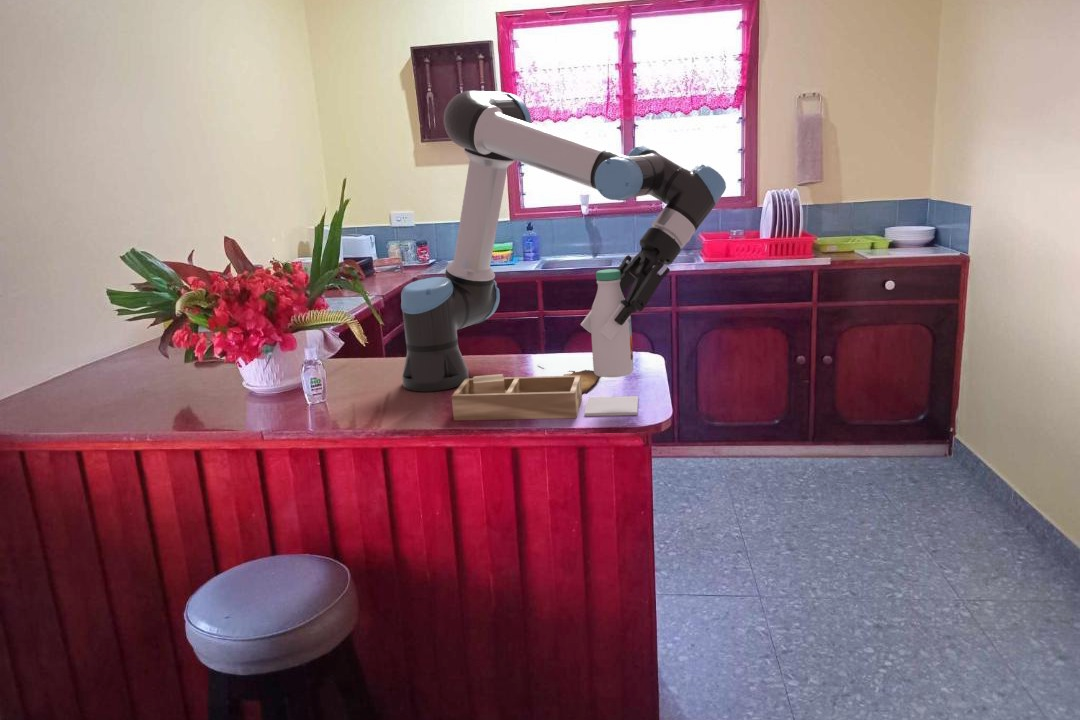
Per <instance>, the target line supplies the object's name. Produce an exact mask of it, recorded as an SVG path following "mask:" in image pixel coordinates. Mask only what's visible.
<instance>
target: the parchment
mask: <svg viewBox="0 0 1080 720" xmlns="http://www.w3.org/2000/svg"><path fill="white" fill-rule="evenodd" d="M568 372H570V373H568ZM577 375H581V391H582V396H583V395H585V394H587V393H588V391H589V390H590V389H591V388H592V387H593V386H594V385H595V384H596V383H598V379H599V378H600V376H597V375H596V374H595V373H594V370H592V369H591V370H590V369H584V370H581V371H576V370H568V371H567V373H565V374H563V375H562V376H577Z"/></svg>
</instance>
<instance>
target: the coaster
mask: <svg viewBox="0 0 1080 720" xmlns="http://www.w3.org/2000/svg"><path fill="white" fill-rule="evenodd" d="M638 408H639V395H632V396H631V395H630V396H626V395H625V396H594V397H593V396H592V397H591V396H589V397H588V398H587V402H586V406H585V410H584V417H601V416H603V417H606V416H610V417H611V416H612V417H613V416H638Z"/></svg>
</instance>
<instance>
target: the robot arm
mask: <svg viewBox="0 0 1080 720" xmlns="http://www.w3.org/2000/svg"><path fill="white" fill-rule="evenodd" d="M443 126H444V129H445V132H446V134H447V136H448V138H449V139H450V140H451V141H452V142H453V143H454V144H455V145H457V146H459V147H460V148H464V149H463V151H464V153H465V154H466V156H467V157H468V158H469V160H468V161H469V163H468V166H467V167H468V168H467V175H466V180H465V181H466V182H465V187H464V193H463V199H462V205H461V212H460V217H459V226H458V232H457V238H456V245H455V250H454V251H455V252H454V257H453V261H451V262H450V263H448V264H447V265H446V268H445V273H444V276H434V277H433V276H432V277H426V278H424V279H417V280H415V281H412V282H410V283H408V284H407V285H405V286H404V287H403V288H402V290H401V292H400V299H401V303H400V309H401V314H402V321H403V329H404V337H405V344H406V345H405V346H406V358H405V362H404V365H403V369H402V370H403V371H402V377H401V378H402V379H401V380H402V385H403V386H402V387H403V388H404V389H406V390H409V391H414V392H437V391H446V390H449V389H453V388H454V389H455V388H459V386H460V385H461V384H462V383H463V381H464V380H465V379H470V376H469V375H470V374H469V368H468V366H467V365H466V364H467V363H466V362H465V359H464V358H463V355H462V352H461V351H460V348H459V342H458V340H459V339H458V330H462V329H463V328H466V327H469V326H472V325H474V326H475V325H477V324H480V323H483V322H484V321H486V320H487V319H489V318H490V317H491V316H493V315H494V314H495V312H496V311H497V309H498V307H499V304H500V299H501V297H500V289H499V288H498V286H497V285H498V284H497V281H496V280H495V278H496V274H495V272H494V271H493V270H492V268H491V262H492V257H493V251H494V247H495V246H494V245H495V241H496V235H497V234H496V233H497V228H498V223H499V220H500V219H499V217H500V211H501V207H502V202H503V194H504V190H505V184H506V178H507V173H508V169H509V166H511V165H512V164H513V163H515V162H516V161H517V162H519V163H522V164H525V165H528V166H530V167H533V168H536V169H538V170H542V171H544V172H547V173H549V174H553V175H555V176H557V177H558V176H559V177H562V178H564V179H567V180H569V181H572V182H576V183H578V184H581V185H584V186H586V187H588V188H592V189H594V190H597V191H598V192H599V194H600V195H601V196H602V197H603V198H606V199H608V200H612V201H626V200H630V199H631V198H637V197H643V196H647V195H649V196H651V197H653V198H655V199H657V200H658V201H660V202H662V203H664V205H665V204H666V205H665V206H664V207H663V208H662V210H661V211H660V213H659V214H658V215H657V217H656V218H655V219H654V221H653V222H652V223H651V227H649V228H648V229H647V230H646V232H645V233H644V235H642V237H641V238H640V239H639V246H640V249H641V250H640V251H639V252H638V253H637V254H636V255H635V256H634V257H631V256H630V254H628V255H626V256H625V257H624V258H623V261H622V262H621V264H620V265H619V266H618V267H617V268H616V269H617V270H620V274H621V278H620V280H621V281H620V288H621V291H622V294H623V293H624V292H625V291H626V290H627V289H628V288H629V287H630V286H631V287H630V288H629V292H628V293H627V295H626V298H625V300H622V301H621V303H622V304H623V305H624V306H623V305H622V304H620V305H619V306H618V307H617V309H616V310H615V311H614V313H613V314H612V315H611V317H610V318H609V319H608V321H607V322H606V323H605V325H604V326H603V327H602V328H601V330H600V331H599V332H600V333H601V334H602V335H603V336H604V337H606V338H607V339H608V340H609V341H611V340H612V339H613V337H614V336H615V335H616V333H617V332H618V331H619V329H620V328H621V327H622V325H623V324H624V323H625V321H626V320H627V319H628V317H629V316H631V314H634V313H635V312H642V311H643V310H644V309H645V307H646V306H647V304H648V302H649V301H650V300H651V298H652V296H653V294H655V291H656V290H657V288H658V287H659V285H660V284H661V282H662V281H663V279H664V278H665V277H666V275H668V274H669V273H670V267H668V266H670V265H672V264H673V262H674V261H675V260H676V258H678V256H679V254H680V253H681V251H682V250H681V249H682V248H684V247H685V246H686V244H687V243H689V242H690V241H691V238H692V237H693V235H694V233H695V232H696V231H697V230H698V229H699V227H700V226H701V225H702V223H703V222H704V221H705V219H706V218H707V217H708V215H710V213H711V212H712V210H713V209H714V208H715V207H716V206H717V204H718V202H719V201H720V199H721V198H722V196H723V195H724V193H725V191H726V190H727V189H726V188H727V183H726V180H725V179H724V178H723V176H722V175H721V173H719V172H718V171H717V170H716V169H714V168H713V167H711V166H709V165H704V164H697V165H696V166H695V167H694V168H693V169H691V170H688V169H687V168H684V167H683V166H681V165H678V164H677V163H675V162H673V161H672V160H671V159H668V158H666V156H663V155H661V154H659V152H657V150H654V149H650V148H649V147H647V146H644V145H637V146H635V147H634V148H632V149H631V150H630V151H629V152H628V154H627V155H625V154H622V153H619V152H616V151H614V150H610V149H607V148H605V147H601V146H598V145H595V144H593V143H590V142H587V141H583V140H580V139H577V138H576V137H575V138H574V137H571V136H568V135H566V134H563V133H559V132H557V131H553V130H550V129H547V128H545V127H541V126H539V125H536V124H533V123H532V117H531V112H530V110H529V108H528V107H527V105H526V103H525V102H524V101H523V99H522V98H520V97H519V96H517V95H516V94H513V93H509V92H505V91H499V90H496V91H491V90H489V91H487V90H486V91H485V90H464V91H462V92H460V93H458V94H457V93H456V95H455V96H454V97H452V98H451V99H450V101H448V104H447V105H446V107H445V109H444V112H443ZM579 325H580V326H581V327H583V329H584V330H586V331H587V332H589V333H590V334H591V310H589V312H588V313H587V315H586V316H585V317H584V319H583V320H582V322H581V323H580V324H579Z"/></svg>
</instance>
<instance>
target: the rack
mask: <svg viewBox="0 0 1080 720" xmlns="http://www.w3.org/2000/svg"><path fill="white" fill-rule="evenodd" d="M503 378H504V387H505V390H507V392H506V393H491V394H474V384H473V377H472V378H469V379H465V380H464V381H463V383H462V384H461V385H460V386H458V387H457V388H456V390H454V392H453V393H452V395H451V406H452V413H453V414H452V416H453V421H486V420H487V421H489V420H490V421H491V420H493V421H494V420H541V419H543V420H544V419H547V420H548V419H550V420H551V419H577V417H578V414H579V410H580V406H581V403H582V400H583V395H582V391H581V375H577V376H563V375H552V376H551V375H549V376H547V375H546V376H545V375H544V376H542V375H541V376H513V377H510V376H509V377H507V376H506V377H503Z"/></svg>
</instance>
